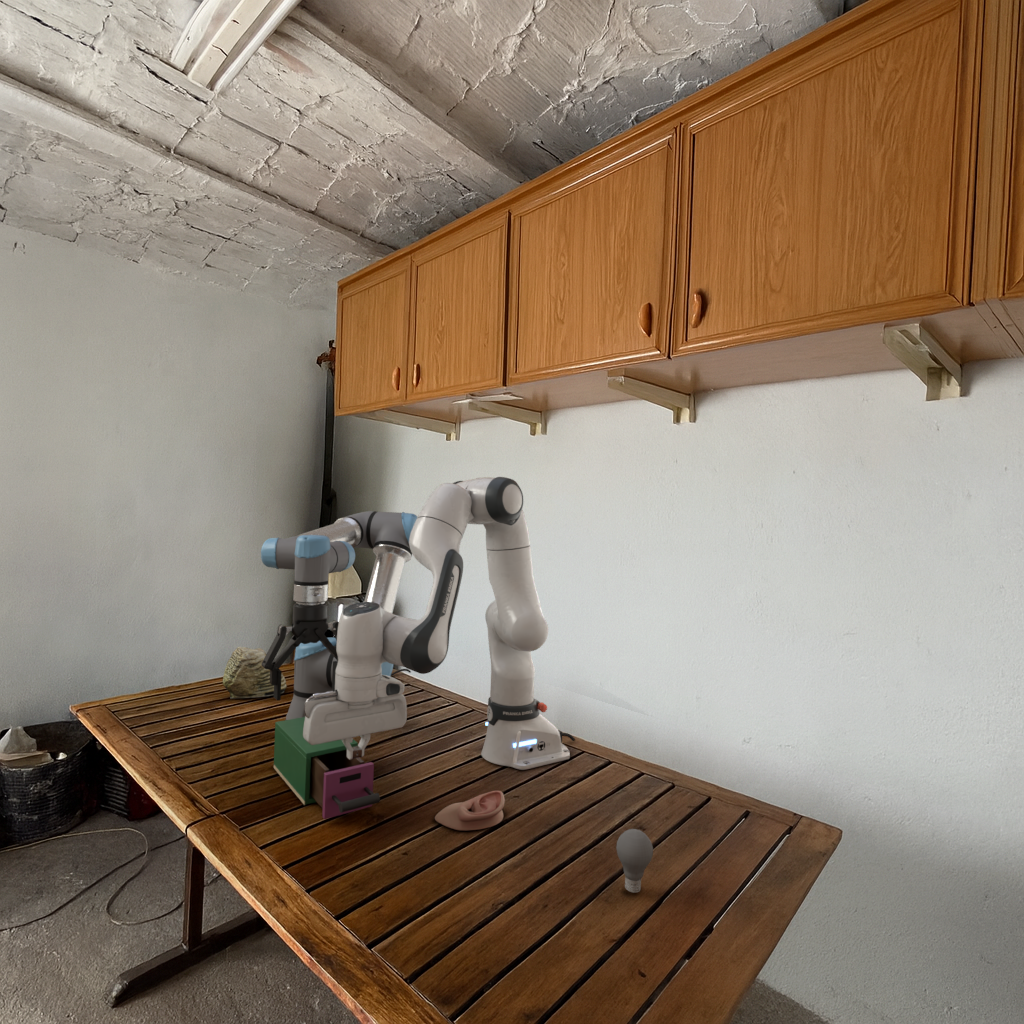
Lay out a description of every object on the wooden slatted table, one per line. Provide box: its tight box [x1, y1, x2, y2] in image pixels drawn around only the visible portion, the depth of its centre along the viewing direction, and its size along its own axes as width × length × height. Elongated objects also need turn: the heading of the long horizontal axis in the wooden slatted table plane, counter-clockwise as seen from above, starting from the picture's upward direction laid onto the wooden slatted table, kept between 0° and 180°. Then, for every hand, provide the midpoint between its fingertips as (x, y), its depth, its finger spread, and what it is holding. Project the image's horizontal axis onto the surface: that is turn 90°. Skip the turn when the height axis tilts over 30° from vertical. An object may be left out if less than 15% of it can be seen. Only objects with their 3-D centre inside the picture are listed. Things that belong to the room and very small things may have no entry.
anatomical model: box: [434, 790, 506, 831], centre depth 128 cm, size 13×4×12 cm
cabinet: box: [272, 717, 359, 806], centre depth 142 cm, size 21×11×11 cm, turn 37°
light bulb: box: [615, 828, 654, 894], centre depth 106 cm, size 6×6×10 cm
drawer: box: [309, 750, 381, 820], centre depth 131 cm, size 26×10×9 cm, turn 37°
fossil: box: [222, 646, 288, 699], centre depth 198 cm, size 9×18×15 cm, turn 132°
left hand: (307, 694), depth 146 cm, fingers open, 13 cm apart
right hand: (355, 757), depth 124 cm, fingers closed
